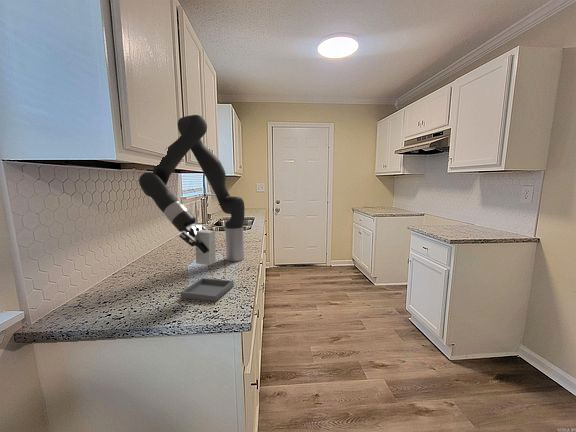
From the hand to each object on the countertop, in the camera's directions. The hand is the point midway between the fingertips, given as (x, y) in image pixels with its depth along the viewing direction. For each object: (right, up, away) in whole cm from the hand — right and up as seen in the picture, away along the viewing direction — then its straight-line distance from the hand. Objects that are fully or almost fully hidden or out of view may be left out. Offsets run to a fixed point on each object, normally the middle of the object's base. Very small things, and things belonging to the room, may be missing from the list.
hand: (210, 249), depth 97 cm
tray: (-2, -17, +3) cm, 17 cm away
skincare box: (-2, -5, +1) cm, 6 cm away
